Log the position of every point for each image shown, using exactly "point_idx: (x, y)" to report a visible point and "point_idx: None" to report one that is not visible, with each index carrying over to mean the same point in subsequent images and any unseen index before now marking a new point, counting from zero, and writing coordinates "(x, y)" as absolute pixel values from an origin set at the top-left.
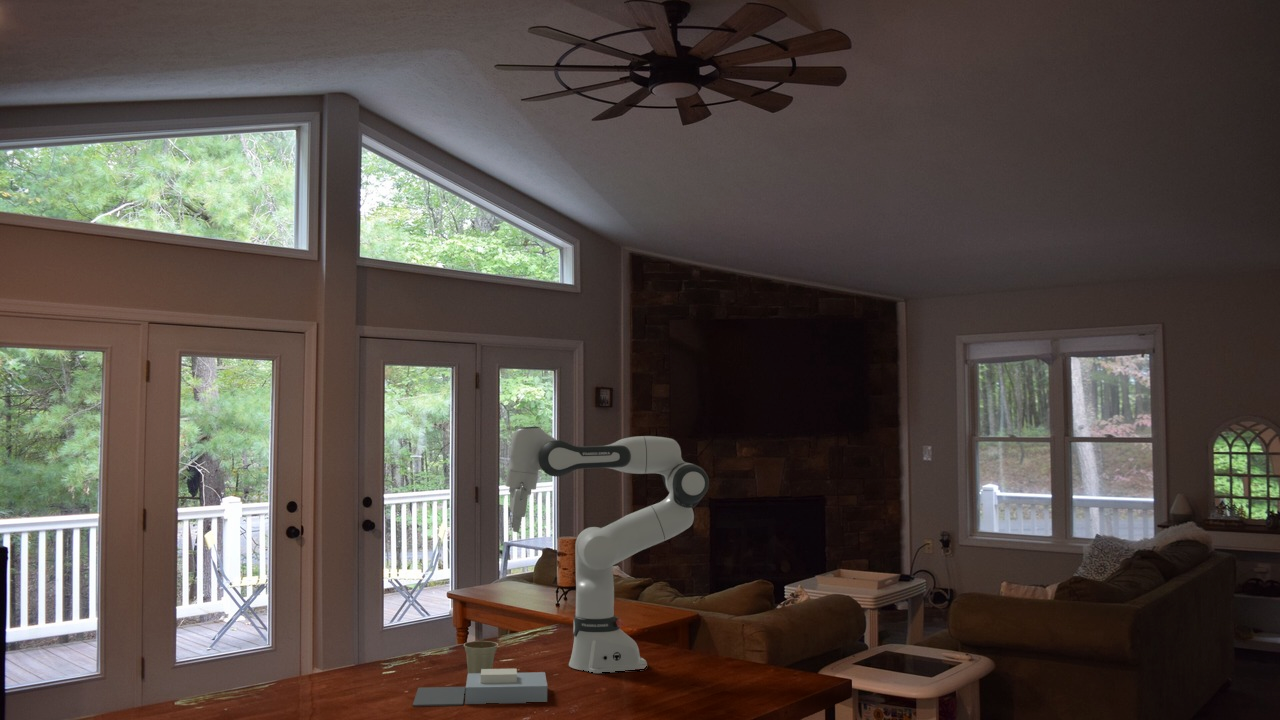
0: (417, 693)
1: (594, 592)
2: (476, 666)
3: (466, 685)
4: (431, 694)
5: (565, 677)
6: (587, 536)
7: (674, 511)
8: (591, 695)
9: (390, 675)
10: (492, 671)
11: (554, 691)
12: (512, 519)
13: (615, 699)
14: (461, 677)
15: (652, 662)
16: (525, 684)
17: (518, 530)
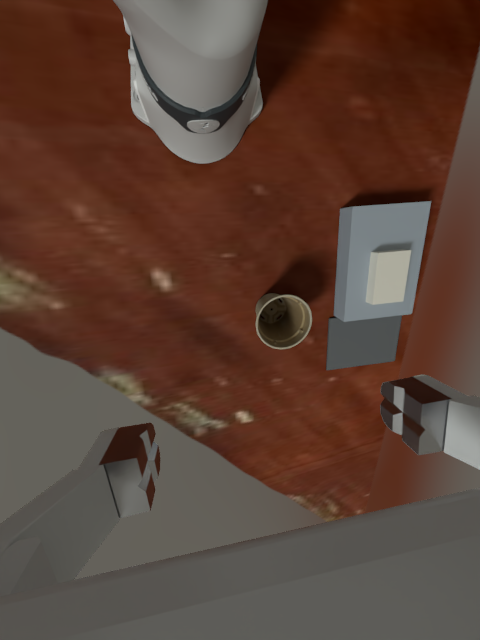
0: (352, 365)
1: None
2: (293, 316)
3: (402, 314)
4: (358, 350)
5: (281, 172)
6: None
7: None
8: (391, 129)
9: (261, 411)
10: (388, 287)
11: (360, 192)
12: (96, 547)
13: (420, 85)
14: None
15: None
16: (416, 235)
17: (428, 382)
